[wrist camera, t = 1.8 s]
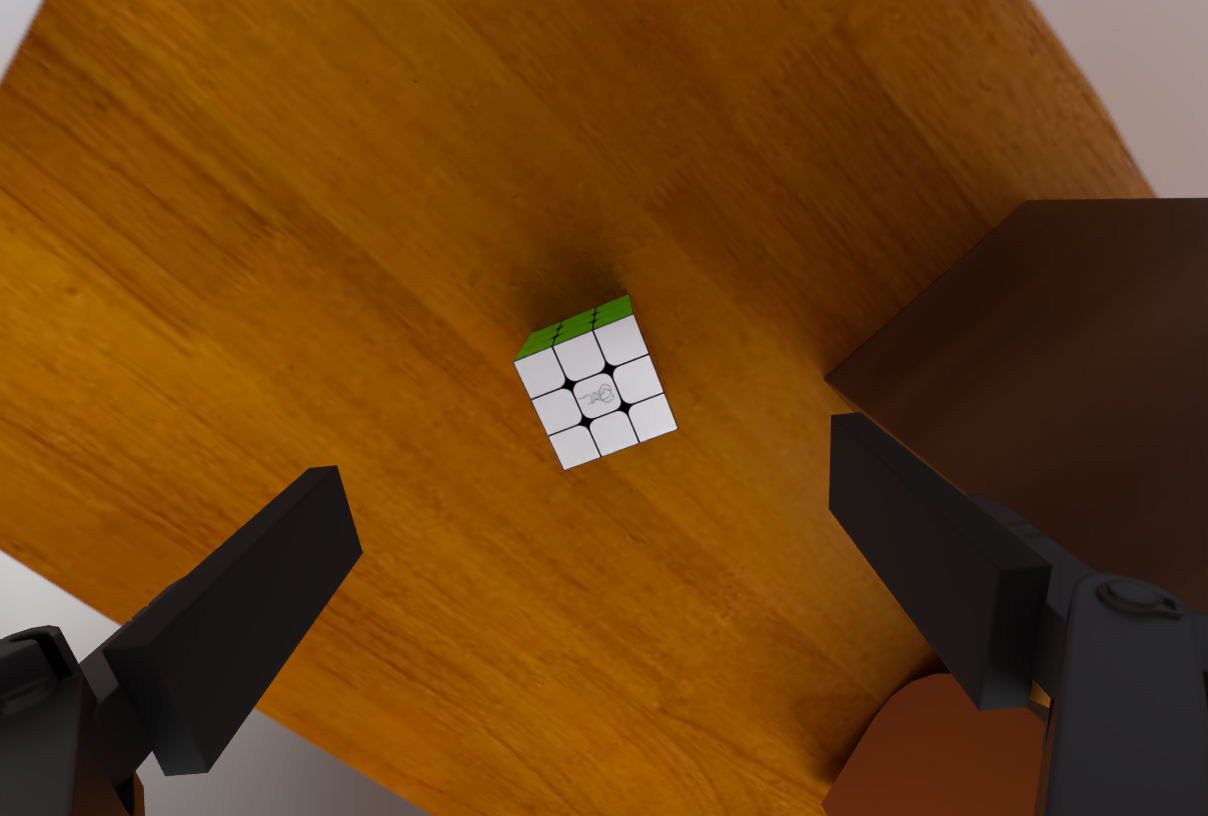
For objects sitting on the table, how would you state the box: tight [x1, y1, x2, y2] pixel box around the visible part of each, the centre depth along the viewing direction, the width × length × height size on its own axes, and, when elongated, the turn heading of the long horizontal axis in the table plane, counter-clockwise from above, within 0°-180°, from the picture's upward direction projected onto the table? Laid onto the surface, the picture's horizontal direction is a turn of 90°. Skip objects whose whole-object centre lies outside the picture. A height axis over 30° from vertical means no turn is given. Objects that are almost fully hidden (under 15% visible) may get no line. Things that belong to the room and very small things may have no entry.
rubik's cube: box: [513, 294, 678, 471], centre depth 24 cm, size 5×5×5 cm
